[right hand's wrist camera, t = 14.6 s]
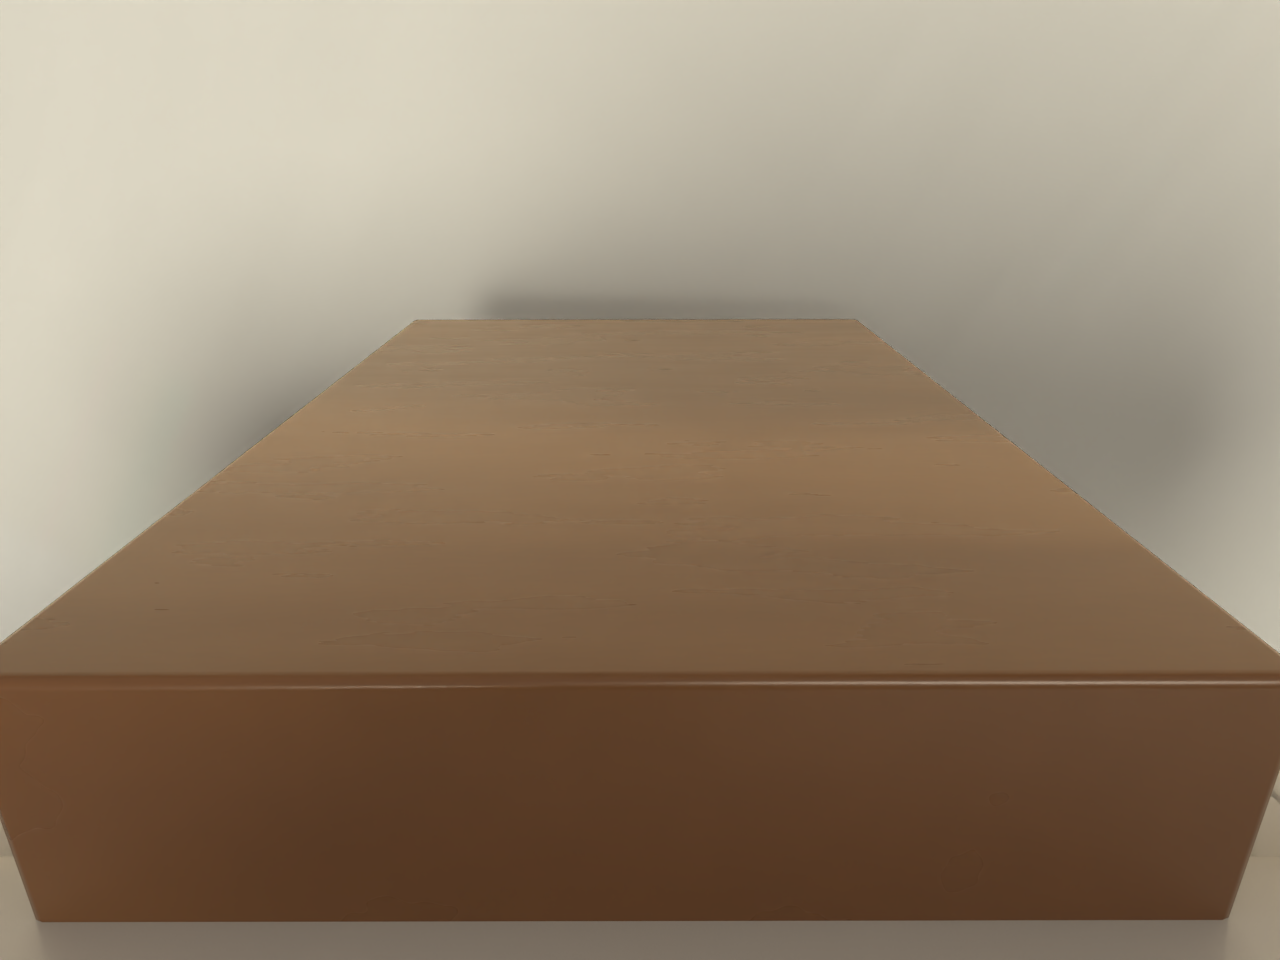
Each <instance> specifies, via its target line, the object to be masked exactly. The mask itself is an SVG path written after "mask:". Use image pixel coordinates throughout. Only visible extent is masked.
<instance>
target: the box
mask: <svg viewBox="0 0 1280 960" xmlns="http://www.w3.org/2000/svg"><path fill="white" fill-rule="evenodd" d="M1279 771H1280V653H1278V652H1277V651H1276V650H1274V649H1273V648H1272V647H1271V646H1269V645H1268V644H1267V643H1266V642H1264V641H1263V640H1262V639H1261V638H1259V637H1258V636H1257V635H1255V634H1254V633H1253V632H1252V631H1250V630H1249V629H1248V628H1247V627H1245V626H1244V625H1243V624H1242V623H1240V622H1239V621H1238V620H1236V619H1235V618H1234V617H1233V616H1231V615H1230V614H1229V613H1228V612H1226V611H1225V610H1224V609H1222V608H1221V607H1220V606H1219V605H1217V604H1216V603H1215V602H1214V601H1212V600H1211V599H1210V598H1209V597H1207V596H1206V595H1205V594H1203V593H1202V592H1201V591H1200V590H1198V589H1197V588H1196V587H1195V586H1193V585H1192V584H1191V583H1190V582H1188V581H1187V580H1186V579H1184V578H1183V577H1182V576H1181V575H1179V574H1178V573H1177V572H1176V571H1174V570H1173V569H1172V568H1171V567H1169V566H1168V565H1167V564H1165V563H1164V562H1163V561H1162V560H1160V559H1159V558H1158V557H1157V556H1155V555H1154V554H1153V553H1151V552H1150V551H1149V550H1148V549H1146V548H1145V547H1144V546H1143V545H1141V544H1140V543H1139V542H1138V541H1136V540H1135V539H1134V538H1132V537H1131V536H1130V535H1129V534H1127V533H1126V532H1125V531H1124V530H1122V529H1121V528H1120V527H1119V526H1117V525H1116V524H1115V523H1113V522H1112V521H1111V520H1110V519H1108V518H1107V517H1106V516H1105V515H1103V514H1102V513H1101V512H1100V511H1098V510H1097V509H1096V508H1094V507H1093V506H1092V505H1091V504H1089V503H1088V502H1087V501H1086V500H1084V499H1083V498H1082V497H1081V496H1079V495H1078V494H1077V493H1075V492H1074V491H1073V490H1072V489H1070V488H1069V487H1068V486H1067V485H1065V484H1064V483H1063V482H1061V481H1060V480H1059V479H1058V478H1056V477H1055V476H1054V475H1053V474H1051V473H1050V472H1049V471H1048V470H1046V469H1045V468H1044V467H1042V466H1041V465H1040V464H1039V463H1037V462H1036V461H1035V460H1034V459H1032V458H1031V457H1030V456H1029V455H1027V454H1026V453H1025V452H1023V451H1022V450H1021V449H1020V448H1018V447H1017V446H1016V445H1015V444H1013V443H1012V442H1011V441H1010V440H1008V439H1007V438H1006V437H1004V436H1003V435H1002V434H1001V433H999V432H998V431H997V430H996V429H994V428H993V427H992V426H991V425H989V424H988V423H987V422H985V421H984V420H983V419H982V418H980V417H979V416H978V415H977V414H975V413H974V412H973V411H971V410H970V409H969V408H968V407H966V406H965V405H964V404H963V403H961V402H960V401H959V400H958V399H956V398H955V397H954V396H952V395H951V394H950V393H949V392H947V391H946V390H945V389H944V388H942V387H941V386H940V385H939V384H937V383H936V382H935V381H933V380H932V379H931V378H930V377H928V376H927V375H926V374H925V373H923V372H922V371H921V370H920V369H918V368H917V367H916V366H914V365H913V364H912V363H911V362H909V361H908V360H907V359H906V358H904V357H903V356H902V355H900V354H899V353H898V352H897V351H895V350H894V349H893V348H892V347H890V346H889V345H888V344H887V343H885V342H884V341H883V340H881V339H880V338H879V337H878V336H876V335H875V334H874V333H873V332H871V331H870V330H869V329H868V328H866V327H865V326H864V325H862V324H861V323H860V322H859V321H857V320H855V319H726V320H416V321H413V322H412V323H411V324H410V325H408V326H407V327H406V328H404V329H403V330H402V331H401V332H399V333H398V334H397V335H395V336H394V337H393V338H392V339H390V340H389V341H388V342H386V343H385V344H384V345H383V346H381V347H380V348H379V349H377V350H376V351H375V352H374V353H372V354H371V355H370V356H369V357H367V358H366V359H365V360H363V361H362V362H361V363H360V364H358V365H357V366H356V367H354V368H353V369H352V370H351V371H349V372H348V373H347V374H345V375H344V376H343V377H342V378H340V379H339V380H338V381H336V382H335V383H334V384H333V385H331V386H330V387H329V388H327V389H326V390H325V391H324V392H322V393H321V394H320V395H318V396H317V397H316V398H315V399H313V400H312V401H311V402H309V403H308V404H307V405H306V406H304V407H303V408H302V409H300V410H299V411H298V412H297V413H295V414H294V415H293V416H291V417H290V418H289V419H288V420H286V421H285V422H284V423H282V424H281V425H280V426H279V427H277V428H276V429H275V430H273V431H272V432H271V433H270V434H268V435H267V436H266V437H264V438H263V439H262V440H261V441H259V442H258V443H257V444H255V445H254V446H253V447H252V448H250V449H249V450H248V451H246V452H245V453H244V454H243V455H241V456H240V457H239V458H237V459H236V460H235V461H234V462H232V463H231V464H230V465H228V466H227V467H226V468H225V469H223V470H222V471H221V472H219V473H218V474H217V475H216V476H214V477H213V478H212V479H210V480H209V481H208V482H207V483H205V484H204V485H203V486H201V487H200V488H199V489H198V490H196V491H195V492H194V493H192V494H191V495H190V496H189V497H187V498H186V499H185V500H183V501H182V502H181V503H180V504H178V505H177V506H176V507H174V508H173V509H172V510H171V511H169V512H168V513H167V514H165V515H164V516H163V517H162V518H160V519H159V520H158V521H156V522H155V523H154V524H153V525H151V526H150V527H149V528H147V529H146V530H145V531H144V532H142V533H141V534H140V535H138V536H137V537H136V538H135V539H133V540H132V541H131V542H129V543H128V544H127V545H126V546H124V547H123V548H122V549H120V550H119V551H118V552H117V553H115V554H114V555H113V556H111V557H110V558H109V559H108V560H106V561H105V562H104V563H102V564H101V565H100V566H99V567H97V568H96V569H95V570H93V571H92V572H91V573H90V574H88V575H87V576H86V577H84V578H83V579H82V580H81V581H79V582H78V583H77V584H75V585H74V586H73V587H72V588H70V589H69V590H68V591H66V592H65V593H64V594H63V595H61V596H60V597H59V598H57V599H56V600H55V601H54V602H52V603H51V604H50V605H48V606H47V607H46V608H45V609H43V610H42V611H41V612H39V613H38V614H37V615H36V616H34V617H33V618H32V619H30V620H29V621H28V622H27V623H25V624H24V625H23V626H21V627H20V628H19V629H18V630H16V631H15V632H14V633H12V634H11V635H10V636H9V637H7V638H6V639H5V640H3V641H2V642H1V643H0V820H1V823H2V826H3V829H4V832H5V834H6V837H7V840H8V843H9V846H10V848H11V851H12V854H13V857H14V860H15V862H16V865H17V868H18V871H19V874H20V876H21V879H22V882H23V885H24V888H25V890H26V893H27V896H28V899H29V902H30V904H31V907H32V910H33V913H34V916H35V918H36V920H38V921H41V922H434V921H956V920H1224V919H1226V918H1228V917H1229V915H1230V912H1231V909H1232V906H1233V904H1234V901H1235V898H1236V895H1237V892H1238V889H1239V886H1240V883H1241V880H1242V878H1243V875H1244V872H1245V869H1246V866H1247V863H1248V860H1249V857H1250V854H1251V852H1252V849H1253V846H1254V843H1255V840H1256V837H1257V834H1258V831H1259V828H1260V826H1261V823H1262V820H1263V817H1264V814H1265V811H1266V808H1267V805H1268V802H1269V799H1270V797H1271V794H1272V791H1273V788H1274V785H1275V782H1276V779H1277V776H1278V773H1279Z"/></svg>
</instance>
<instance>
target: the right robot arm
mask: <svg viewBox="0 0 1280 960" xmlns="http://www.w3.org/2000/svg"><path fill="white" fill-rule="evenodd" d="M0 960H1280V771H1279V773H1278V776H1277V779H1276V782H1275V785H1274V788H1273V791H1272V794H1271V797H1270V799H1269V802H1268V805H1267V808H1266V811H1265V814H1264V817H1263V820H1262V823H1261V826H1260V828H1259V831H1258V834H1257V837H1256V840H1255V843H1254V846H1253V849H1252V852H1251V854H1250V857H1249V860H1248V863H1247V866H1246V869H1245V872H1244V875H1243V878H1242V880H1241V883H1240V886H1239V889H1238V892H1237V895H1236V898H1235V901H1234V904H1233V906H1232V909H1231V912H1230V915H1229V917H1228V918H1226V919H1224V920H956V921H434V922H41V921H38V920H36V918H35V916H34V913H33V910H32V907H31V904H30V902H29V899H28V896H27V893H26V890H25V888H24V885H23V882H22V879H21V876H20V874H19V871H18V868H17V865H16V862H15V860H14V857H13V854H12V851H11V848H10V846H9V843H8V840H7V837H6V834H5V832H4V829H3V826H2V823H1V820H0Z"/></svg>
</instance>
